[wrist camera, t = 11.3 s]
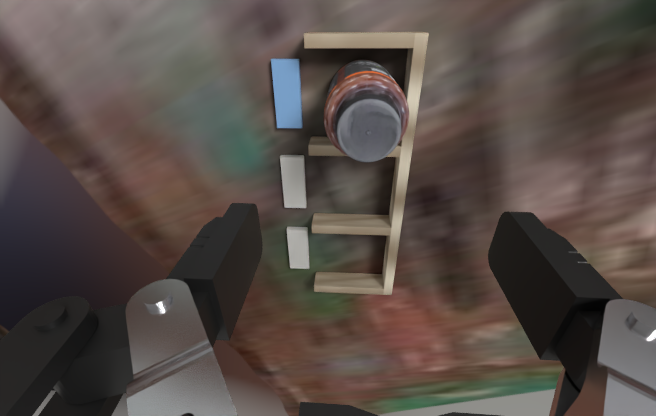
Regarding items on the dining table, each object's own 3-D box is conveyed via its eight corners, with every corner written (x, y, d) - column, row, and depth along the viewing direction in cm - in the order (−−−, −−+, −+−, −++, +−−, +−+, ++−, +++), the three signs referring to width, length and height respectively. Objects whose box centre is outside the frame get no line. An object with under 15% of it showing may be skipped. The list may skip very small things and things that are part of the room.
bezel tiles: (272, 58, 27) (270, 59, 27) (299, 58, 27) (298, 59, 27) (290, 264, 40) (290, 268, 39) (309, 265, 40) (309, 268, 39)
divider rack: (307, 32, 26) (303, 33, 24) (422, 31, 26) (428, 33, 24) (316, 277, 41) (314, 291, 39) (389, 280, 40) (391, 294, 38)
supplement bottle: (336, 131, 31) (330, 184, 21) (322, 67, 28) (307, 94, 18) (398, 119, 30) (421, 168, 20) (390, 50, 27) (413, 69, 17)
